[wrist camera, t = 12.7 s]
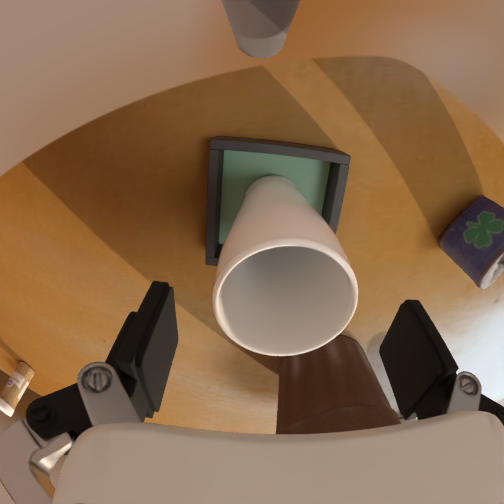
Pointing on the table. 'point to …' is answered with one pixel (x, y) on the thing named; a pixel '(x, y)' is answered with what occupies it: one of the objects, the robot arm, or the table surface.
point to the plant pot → (331, 391)
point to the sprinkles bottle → (15, 388)
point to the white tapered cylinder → (282, 274)
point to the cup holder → (264, 164)
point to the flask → (477, 241)
